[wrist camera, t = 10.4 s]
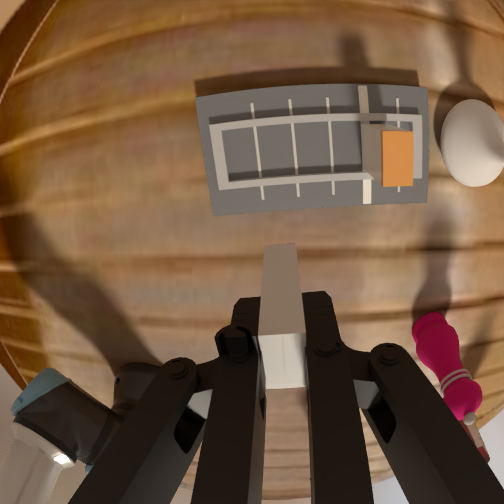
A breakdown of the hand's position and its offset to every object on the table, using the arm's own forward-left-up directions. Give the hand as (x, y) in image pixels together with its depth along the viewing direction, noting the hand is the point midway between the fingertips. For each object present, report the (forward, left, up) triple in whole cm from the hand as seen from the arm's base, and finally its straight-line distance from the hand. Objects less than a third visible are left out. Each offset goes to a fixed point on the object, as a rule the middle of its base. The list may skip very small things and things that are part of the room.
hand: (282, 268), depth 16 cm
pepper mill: (+23, -26, -23) cm, 41 cm away
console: (+5, +3, -23) cm, 23 cm away
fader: (+11, +3, -20) cm, 23 cm away
